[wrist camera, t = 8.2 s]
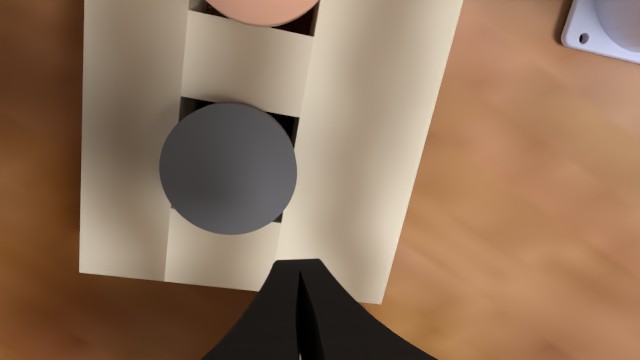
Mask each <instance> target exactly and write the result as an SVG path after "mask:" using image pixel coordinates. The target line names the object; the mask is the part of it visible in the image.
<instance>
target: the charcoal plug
mask: <svg viewBox="0 0 640 360" xmlns="http://www.w3.org/2000/svg"><path fill="white" fill-rule="evenodd" d="M159 173H160V180H161V184H162V187H163V190H164V192H165V195H166V197H167V198H168V200H169V202H170V203H171V205H172V206H173V207H174V209H175V210H176V211H177V212H178V213H179V214H180V215H181V216H182V217H183V218H185V219H186V220H187V221H188V222H190V223H192V224H193V225H195V226H197V227H199V228H201V229H203V230H206V231H209V232H212V233H217V234H223V235H239V234H245V233H249V232H253V231H256V230H258V229H260V228H263V227H265V226H266V225H268V224H270V223H271V222H272V221H274V220H275V219H276V218H277V217H278V216H279V215H280V214H281V213H282V212H283V211H284V209H285V208H286V207H287V205H288V204H289V202H290V200H291V198H292V196H293V193H294V190H295V186H296V181H297V164H296V158H295V152H294V149H293V145H292V143H291V140H290V138H289V136H288V135H287V133H286V131H285V130H284V129H283V127H282V126H281V125H280V124H279V123H278V122H277V121H276V120H275V119H274V118H273V117H272V116H270V115H269V114H268V113H266V112H265V111H263V110H261V109H259V108H257V107H254V106H252V105H248V104H244V103H239V102H220V103H215V104H211V105H208V106H205V107H203V108H201V109H199V110H197V111H195V112H193V113H191V114H189V115H188V116H186V117H185V118H183V119H182V120H181V121H180V122H179V123H178V124H177V125H176V126H175V127H174V128H173V129H172V130H171V132H170V133H169V135H168V136H167V138H166V140H165V142H164V144H163V147H162V151H161V154H160V161H159Z"/></svg>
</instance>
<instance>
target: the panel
mask: <svg viewBox="0 0 640 360" xmlns="http://www.w3.org/2000/svg"><path fill="white" fill-rule="evenodd" d="M462 3H463V0H319V1H318V2H317V3H316V4H315V5H314V8H313V14H312V20H311V26H310V32H309V36H307V35H302V34H298V33H293V32H288V31H284V30H279V29H274V28H270V27H255V26H249V25H245V24H242V23H239V22H237V21H234V20H232V19H228V18H223V17H219V16H214V15H209V14H207V6H208V2H207V1H206V0H84V51H83V103H82V154H81V206H80V257H79V272H80V273H89V274H99V275H108V276H118V277H127V278H137V279H146V280H155V281H165V282H174V283H184V284H193V285H203V286H212V287H222V288H231V289H241V290H250V291H259V290H260V289H261V287H262V285H263V284H264V282H265V280H266V278H267V276H268V274H269V272H270V270H271V268H272V265H273V263H274V262H275V261H276V260H290V259H316V258H319V259H320V260H321V261H322V262H323V263H324V264H325V266H326V267H327V268H328V270H329V271H330V272H331V273H332V275H333V276H334V277H335V278H336V280H337V281H338V282H339V283H340V284H341V285H342V286H343V288H344V289H345V290H346V291H347V292H348V293H349V294H350V295H351V296H352V297H353V298H354V299H355V300H356V301H357V302H364V303H373V304H381V303H382V299H383V296H384V292H385V288H386V285H387V281H388V277H389V273H390V270H391V266H392V262H393V259H394V255H395V251H396V247H397V244H398V240H399V236H400V233H401V229H402V225H403V222H404V218H405V214H406V210H407V207H408V203H409V199H410V196H411V192H412V188H413V185H414V181H415V177H416V173H417V170H418V166H419V162H420V159H421V155H422V151H423V148H424V144H425V140H426V136H427V133H428V129H429V125H430V122H431V118H432V114H433V111H434V107H435V103H436V99H437V96H438V92H439V88H440V85H441V81H442V77H443V74H444V70H445V66H446V62H447V59H448V55H449V51H450V48H451V44H452V40H453V36H454V33H455V29H456V25H457V22H458V18H459V14H460V11H461V7H462ZM198 99H199V100H205V101H210V102H216V103H220V102H239V103H244V104H248V105H252V106H254V107H257V108H259V109H261V110H263V111H266V112H271V113H277V114H283V115H288V116H294V117H295V119H294V125H293V131H292V136H291V143H292V145H293V149H294V152H295V158H296V164H297V181H296V186H295V190H294V193H293V196H292V198H291V200H290V202H289V204H288V205H287V207H286V208H285V209H284V211H283V212H282V213H281V214H280V215H279V216H278V217H277V218H276V219H275V220H274V221H272V222H271V223H270V224H268V225H266V226H265V227H263V228H260V229H258V230H256V231H253V232H249V233H245V234H239V235H223V234H217V233H212V232H209V231H206V230H203V229H201V228H199V227H197V226H195V225H193V224H192V223H190V222H188V221H187V220H186V219H185V218H183V217H182V216H181V215H180V214H179V213H178V212H177V211H176V210H175V209H174V207H173V206H172V205H171V203H170V202H169V200H168V198H167V197H166V195H165V192H164V190H163V187H162V184H161V180H160V173H159V161H160V154H161V151H162V147H163V144H164V142H165V140H166V138H167V136H168V135H169V133H170V132H171V130H172V129H173V128H174V127H175V126H176V125H177V124H178V123H179V122H180V121H181V120H182V119H183V118H185V117H186V116H188V115H189V114H191V113H193V112H195V111H197V104H198Z"/></svg>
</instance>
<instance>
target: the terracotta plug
mask: <svg viewBox="0 0 640 360" xmlns="http://www.w3.org/2000/svg"><path fill="white" fill-rule="evenodd" d="M206 1H207V2H208V3H209V4H210V5H211V6H213V7H214V8H215V9H216V10H218V11H219V12H220V13H221V14H223V15H225V16H227V17H228V18H230V19H232V20H234V21H237V22H239V23H242V24H245V25H249V26H255V27H273V26H280V25H283V24H287V23H289V22H291V21H294V20H296V19H298V18H299V17H301V16H302V15H304V14H305V13H307V12H308V11H309V10H310V9H311V8H312V7H313V6H314V5H315V4H316V3H317V2H318V1H319V0H206Z"/></svg>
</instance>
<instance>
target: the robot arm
mask: <svg viewBox="0 0 640 360" xmlns="http://www.w3.org/2000/svg"><path fill="white" fill-rule="evenodd" d="M581 34H582V36H583V40H582V42H581V43H580V41H579V37H580V35H581ZM561 42H562V44H563V45H564V46H566V47H569V48H573V49H577V50H581V51H586V52H590V53H594V54H598V55H603V56H607V57H611V58H615V59H620V60H624V61H628V62H632V63H637V64H640V0H573V3H572V6H571V9H570V12H569V14H568V17H567V20H566V23H565V26H564V29H563V32H562V35H561ZM300 356H301V360H438V359H436V358H434V357H432V356H430V355H429V354H427V353H425V352H424V351H422V350H420V349H419V348H417V347H415V346H414V345H412V344H410V343H409V342H407V341H406V340H404V339H403V338H401V337H400V336H398V335H397V334H395V333H394V332H393V331H391V330H390V329H389V328H387V327H386V326H385V325H383V324H382V323H381V322H379V321H378V320H377V319H375V318H374V317H373V316H372V315H371V314H369V313H368V312H367V311H366V310H365V309H364V308H363V307H362V306H361V305H360V304H359V303H358V302H357V301H356V300H355V299H354V298H353V297H352V296H351V295H350V294H349V293H348V292H347V291H346V290H345V289H344V288H343V286H342V285H341V284H340V283H339V282H338V281H337V280H336V278H335V277H334V276H333V275H332V273H331V272H330V271H329V270H328V268H327V267H326V266H325V264H324V263H323V262H322V261H321V260H320V259H319V258H316V259H290V260H276V261H275V262H274V263H273V265H272V268H271V270H270V272H269V274H268V276H267V278H266V280H265V282H264V284H263V285H262V287H261V289H260V290H259V292H258V294H257V295H256V297H255V298H254V300H253V301H252V303H251V304H250V305H249V307H248V308H247V309H246V311H245V312H244V313H243V315H242V316H241V318H240V319H239V320H238V321H237V323H236V324H235V325H234V326H233V327H232V328H231V330H230V331H229V332H228V333H227V334H226V335H225V336H224V337H223V338H222V340H221V341H220V342H219V343H218V344H217V345H216V346H215V347H214V348H213V349H212V350H211V351H210V352H208V353H207V354H206V355H205V356H204V357H203V358H202V359H201V360H300Z"/></svg>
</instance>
